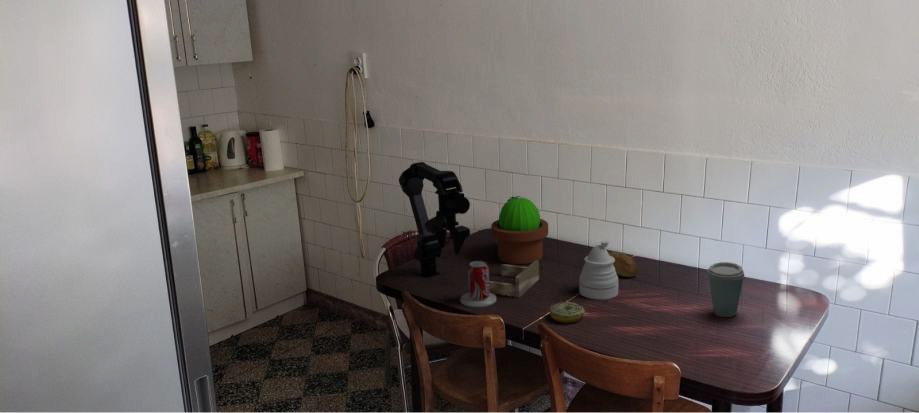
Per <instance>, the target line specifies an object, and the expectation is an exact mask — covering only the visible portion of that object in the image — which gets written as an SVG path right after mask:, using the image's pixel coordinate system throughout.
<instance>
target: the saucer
mask: <svg viewBox="0 0 919 413" xmlns="http://www.w3.org/2000/svg"><path fill="white" fill-rule="evenodd" d="M496 302H497V296H496V294H492V293H490V295H489V297H487V298H486V299H485V300H474V299H472V298H471V297H470V296H469V292H467V293H464V294H462V295H461V297H460V303H461V304H462V305H464V306H466V307H470V308H485V307H489V306H492V305H494V304H495V303H496Z"/></svg>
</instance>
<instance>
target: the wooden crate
mask: <svg viewBox="0 0 919 413" xmlns="http://www.w3.org/2000/svg"><path fill="white" fill-rule="evenodd" d="M539 266H540V260H539V261H538V260H535V261H534V262H533V263H530V264H529V265H528V266H521V265H516V264H508V263H505V264H504V263H502V264H501V265H500V270H501V272H500V274H501V276H502V277H505V276H506V277H512V278H515V284H513V283H507V282H501V281H500V282H499V281H493V280H492V281H491V280H489V282H490V293H492V294H494V295H498V294H500V296H505V295H507V297H512V296H513V298H520V297H522V296H523V295H524V294H525V293H526V292H527V291H528V290H529V289H530V288H531V287H533V285H534V284H535V283H537V281H539V279H540V267H539Z"/></svg>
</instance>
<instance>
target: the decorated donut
mask: <svg viewBox="0 0 919 413" xmlns="http://www.w3.org/2000/svg"><path fill="white" fill-rule="evenodd" d="M548 311H549V315H550V317H551V319H552V320H553V321H556V322H559V323H564V324H571V323H572V324H573V323H574V322H575V323H577V322H579V321H580V320H581V319H582V318H583V316H584V315H585V314H586V310H585V309H584V307H583V306H582V305H581V304H578V303H576V302H572V301H564V302H563V301H562V302H558V303H554V304H553V305H551V306H550V307H549V310H548Z"/></svg>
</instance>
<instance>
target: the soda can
mask: <svg viewBox="0 0 919 413" xmlns="http://www.w3.org/2000/svg"><path fill="white" fill-rule="evenodd" d="M467 280H468V281H467V283H468V293H469V296H470V297H471V298H472V299H474V300H485V299H486V298H487V297H489V295H490V282H489V281H490V269H489V266H488V265H487V262H486V261H483V260H475V261H471V262H470V263H469V266H468V269H467Z"/></svg>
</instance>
